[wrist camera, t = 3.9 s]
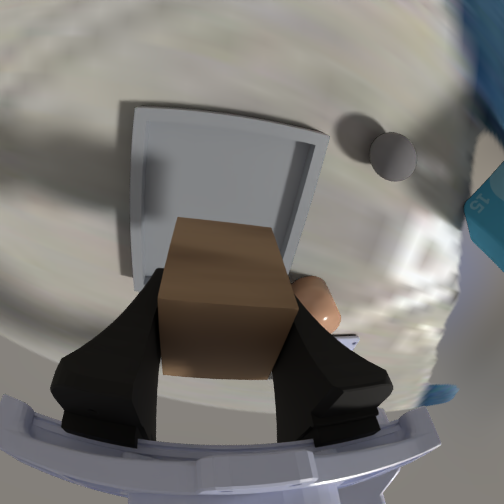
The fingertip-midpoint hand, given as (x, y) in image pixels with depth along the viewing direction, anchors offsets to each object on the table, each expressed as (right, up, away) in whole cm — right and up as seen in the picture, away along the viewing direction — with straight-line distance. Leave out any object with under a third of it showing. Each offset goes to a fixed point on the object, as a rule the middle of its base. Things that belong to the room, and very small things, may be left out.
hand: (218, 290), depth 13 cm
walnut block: (0, +1, +1) cm, 2 cm away
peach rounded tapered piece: (+6, -2, +12) cm, 14 cm away
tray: (-1, +5, +7) cm, 8 cm away
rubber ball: (+11, +9, +5) cm, 16 cm away
